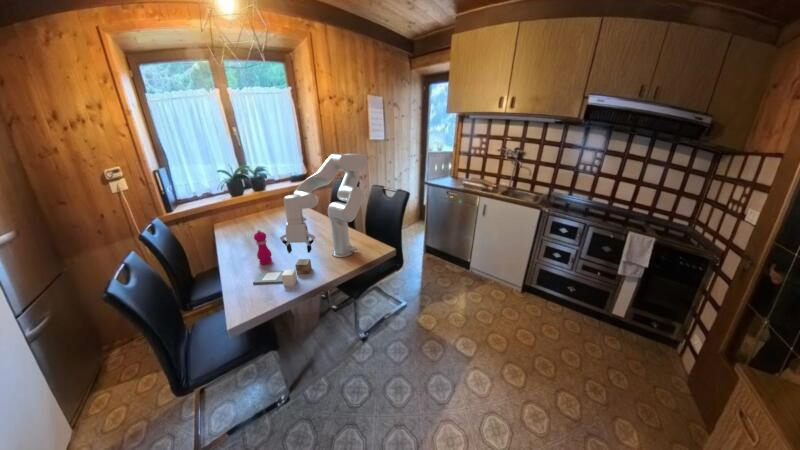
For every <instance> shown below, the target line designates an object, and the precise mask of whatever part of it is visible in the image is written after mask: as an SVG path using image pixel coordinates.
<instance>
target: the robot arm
mask: <svg viewBox="0 0 800 450" xmlns="http://www.w3.org/2000/svg"><path fill="white" fill-rule="evenodd" d="M368 166H369V160H368V157H367V156H366V155H364V154H360V153H349V152H348V153H343V154H341V153H331V154H330V155H329V156H328V158H326V159H325V161H324V162H323V163H322V165H321V166H320V167H319V169H318V170H317V171H316V172H315V173H314V174H312V175H310V176H309V177H307V178H306V179H304V180H303V181H302V182H301V183H300V184H299V185H298V187H297V188H296V189H295V190H294V192H293V193H292V194H288V195H285V196H284V197H283V204H284V210H285V216H286V224H285V234H283V235H281V236H280V237H279V240H280V241H281V242H282V243H283V244H284V245H285V247H286V250H287V254H291V253H292V250H293V249H292V244H294V243H300V244H301V243H305V244H306V249H307V253H308V254H310V253H311V251H312V244H313V243H314V241H315V240H316V236H315V235H313V234H311V233H309V229H308V224H307V223H306V221H307V218H306V217H304V214H303V210H307V209H313V208H315V207H316V206H317V205H318V204H319V197H318V196H317V195H316V194H314V193H312V192H313V191H315V190H316V189H318V188H321V187H326V186H328V185H330V184H331V183H332V182H333V180H334V178H336V175H338V173H339V172H344V177H343V179H342V181H341V184H340V185H339V187H338V190H337V194H336V197H337V199H338V200H340V201H342V202H340V201H334V202H333V201H332V202H331V203H330V204H328V207H327V215H328V218H329V221H330V228H331V236H332V244H333V249H332V250H331V255H332V256H333V257H335V258H346V257H348V256H350V255H352V254H353V253H354V251H358V247H357V246H356V245H352V243H350V233H349V223H351V222H353V221H354V219H355V218H356V217H357V215H358V213H359V210H360V209H361V205H362V203H363V201H364V191H363V189H362V188H360V187H359V186H357V185H358V183H359V181H360V176H359V172H358V171H363V170H365V169H366V168H367V167H368ZM285 238H286V239H285ZM310 238H311V240H310ZM291 243H292V244H291Z"/></svg>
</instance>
